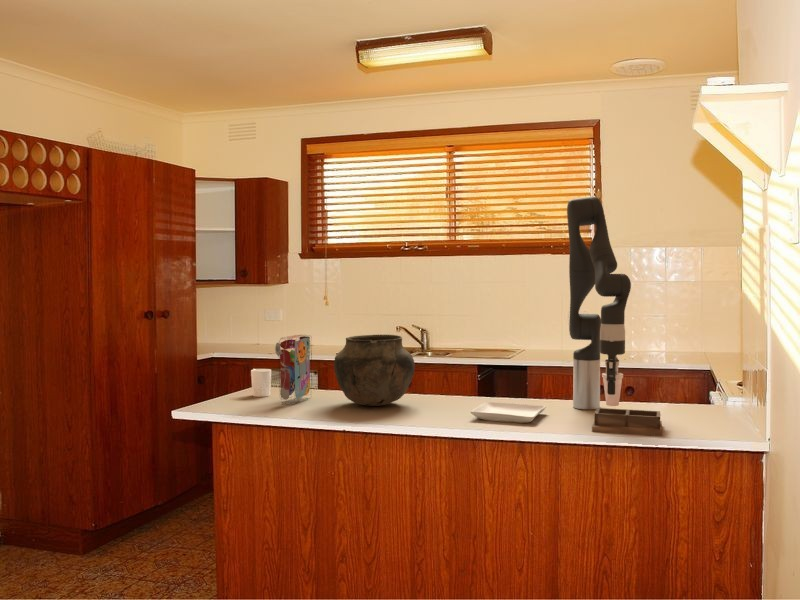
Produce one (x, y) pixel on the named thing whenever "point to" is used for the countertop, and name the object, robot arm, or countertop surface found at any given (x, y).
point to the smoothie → (614, 399)
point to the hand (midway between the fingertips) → (611, 392)
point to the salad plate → (507, 412)
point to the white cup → (261, 382)
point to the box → (299, 375)
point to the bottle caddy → (627, 421)
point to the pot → (374, 369)
